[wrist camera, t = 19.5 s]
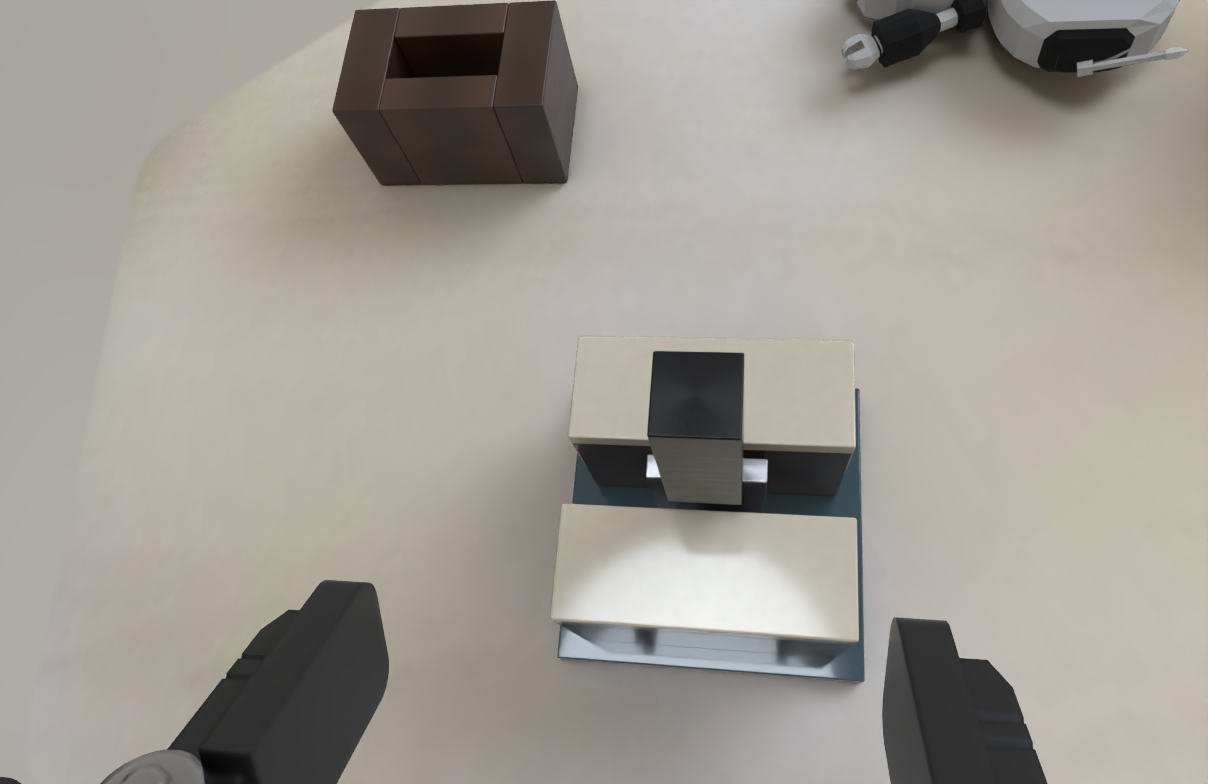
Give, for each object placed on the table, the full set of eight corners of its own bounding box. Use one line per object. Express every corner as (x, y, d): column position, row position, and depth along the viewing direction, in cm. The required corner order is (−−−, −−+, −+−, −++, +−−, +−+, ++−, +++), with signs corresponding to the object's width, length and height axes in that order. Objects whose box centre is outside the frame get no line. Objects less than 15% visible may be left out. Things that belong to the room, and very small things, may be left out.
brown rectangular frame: (380, 185, 46) (331, 111, 41) (399, 91, 48) (354, 9, 43) (567, 183, 44) (542, 105, 39) (578, 86, 47) (556, -1, 41)
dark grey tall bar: (663, 546, 36) (616, 435, 23) (667, 490, 37) (622, 349, 23) (761, 552, 36) (774, 440, 22) (763, 494, 37) (775, 352, 23)
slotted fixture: (560, 659, 36) (517, 642, 29) (586, 387, 40) (554, 315, 33) (861, 683, 34) (893, 671, 27) (857, 394, 38) (883, 319, 31)
